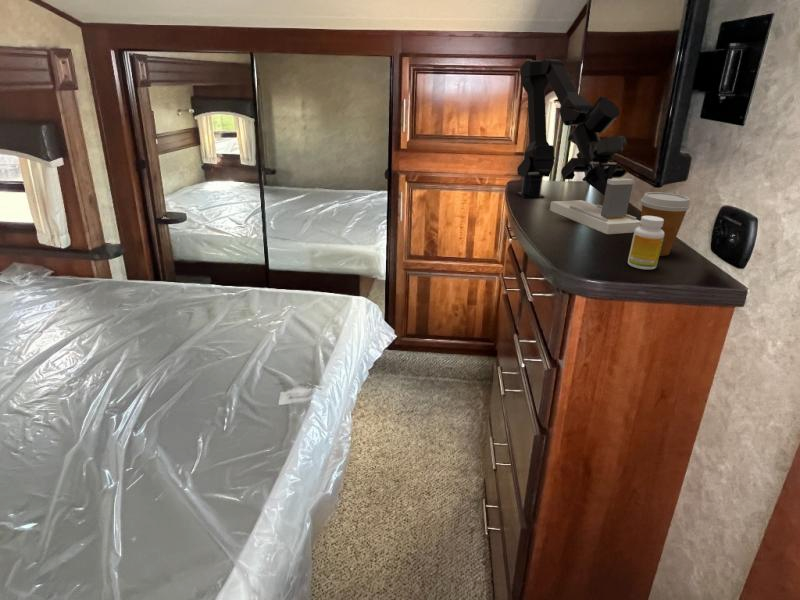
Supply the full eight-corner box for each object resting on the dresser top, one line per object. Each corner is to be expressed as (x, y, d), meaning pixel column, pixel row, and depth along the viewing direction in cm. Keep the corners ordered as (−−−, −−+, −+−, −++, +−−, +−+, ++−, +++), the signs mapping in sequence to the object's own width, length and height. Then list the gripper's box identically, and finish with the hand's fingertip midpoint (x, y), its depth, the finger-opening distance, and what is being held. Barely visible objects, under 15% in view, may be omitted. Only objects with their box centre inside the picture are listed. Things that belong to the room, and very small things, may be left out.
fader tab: (600, 215, 128) (607, 179, 125) (620, 214, 130) (627, 178, 127) (606, 217, 127) (613, 180, 123) (625, 216, 129) (633, 179, 125)
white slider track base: (549, 210, 145) (551, 199, 144) (579, 208, 148) (581, 198, 147) (607, 234, 124) (609, 221, 123) (640, 231, 127) (643, 219, 126)
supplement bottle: (659, 271, 101) (671, 222, 97) (630, 268, 102) (641, 220, 98) (652, 262, 106) (664, 215, 102) (624, 259, 107) (635, 213, 103)
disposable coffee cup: (621, 248, 114) (633, 194, 109) (645, 242, 119) (657, 190, 114) (663, 261, 107) (677, 203, 102) (686, 253, 112) (701, 198, 107)
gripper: (576, 123, 124) (597, 179, 119) (638, 124, 130) (661, 176, 125) (552, 152, 134) (570, 204, 129) (611, 151, 140) (631, 201, 135)
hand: (608, 196), depth 129 cm, fingers closed
